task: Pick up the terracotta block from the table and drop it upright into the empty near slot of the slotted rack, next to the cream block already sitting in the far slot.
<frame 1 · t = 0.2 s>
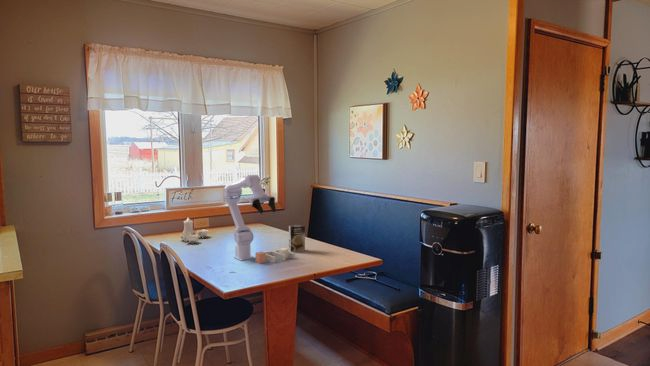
hand: (268, 211, 229), 31 cm above the table, tool tilted 45°, fingers open, 7 cm apart
coffee box: (297, 251, 269), on the table
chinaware: (193, 240, 303), on the table
cream block: (283, 257, 252), point 1 cm above the table, touching slot rack
slot rack: (278, 259, 251), on the table
terracotta block: (260, 263, 243), on the table
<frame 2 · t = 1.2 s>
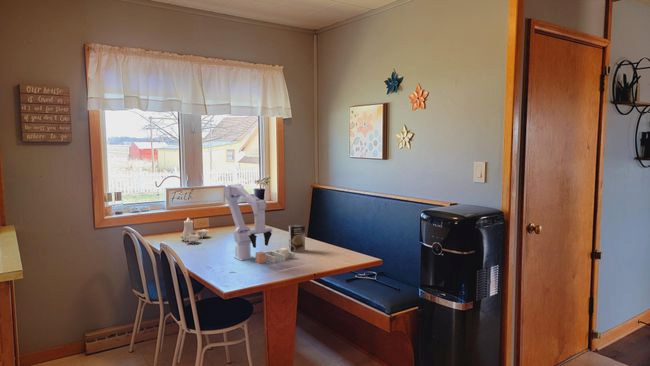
hand: (260, 246, 242), 10 cm above the table, tool pointing down, fingers open, 7 cm apart
nothing on the table moved.
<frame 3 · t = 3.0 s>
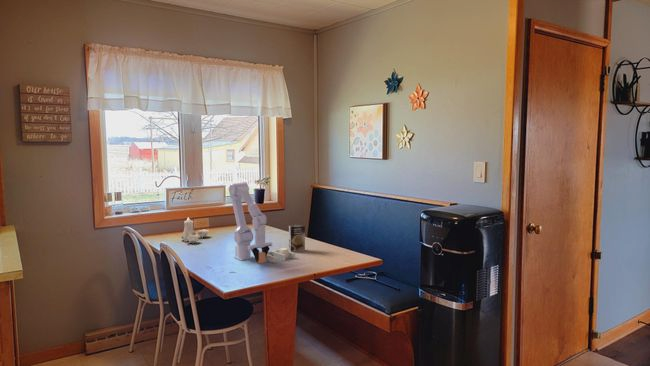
hand: (260, 260, 243), 1 cm above the table, tool pointing down, fingers closed on terracotta block, 4 cm apart
terracotta block: (260, 263, 243), on the table, touching gripper
everything else where it was.
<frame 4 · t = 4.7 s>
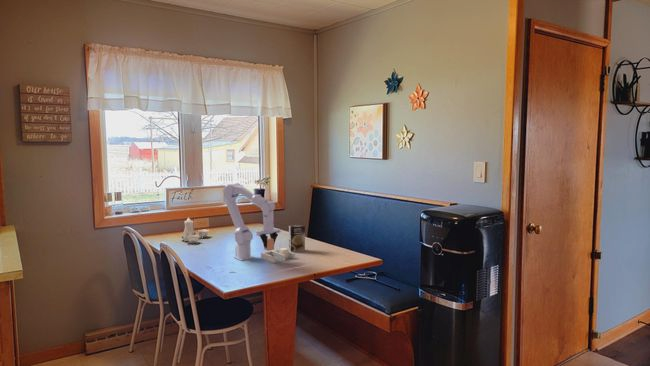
hand: (269, 246, 245), 8 cm above the table, tool pointing down, fingers closed on terracotta block, 4 cm apart
terracotta block: (269, 249, 245), point 7 cm above the table, touching gripper
everything else where it was.
when the fingers open (4 cm above the table, at t = 6.5 s): terracotta block drops 2 cm, resting on slot rack.
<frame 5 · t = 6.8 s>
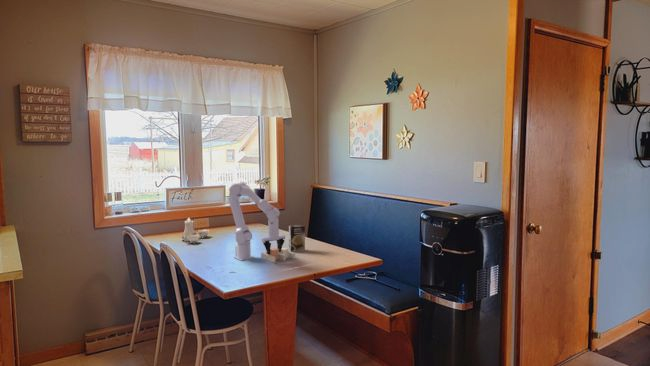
hand: (274, 253, 248), 4 cm above the table, tool pointing down, fingers open, 6 cm apart
terracotta block: (274, 259, 248), point 1 cm above the table, touching slot rack
everything else where it was.
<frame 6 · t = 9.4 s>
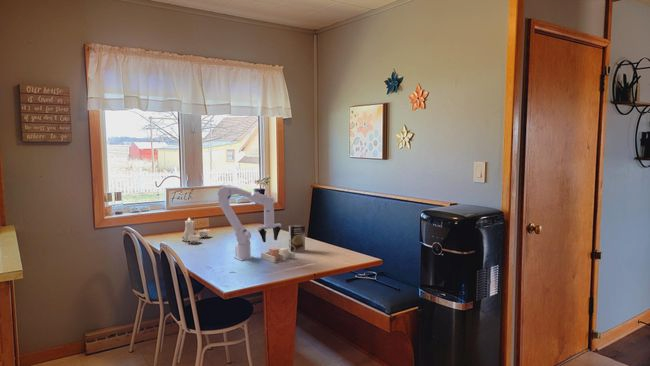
hand: (269, 240, 251), 10 cm above the table, tool pointing down, fingers open, 7 cm apart
nothing on the table moved.
at the end: terracotta block 0.2 cm from the target spot, point 0.6 cm above the table; terracotta block tilted 0°; cream block moved 0.0 cm from its start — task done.
